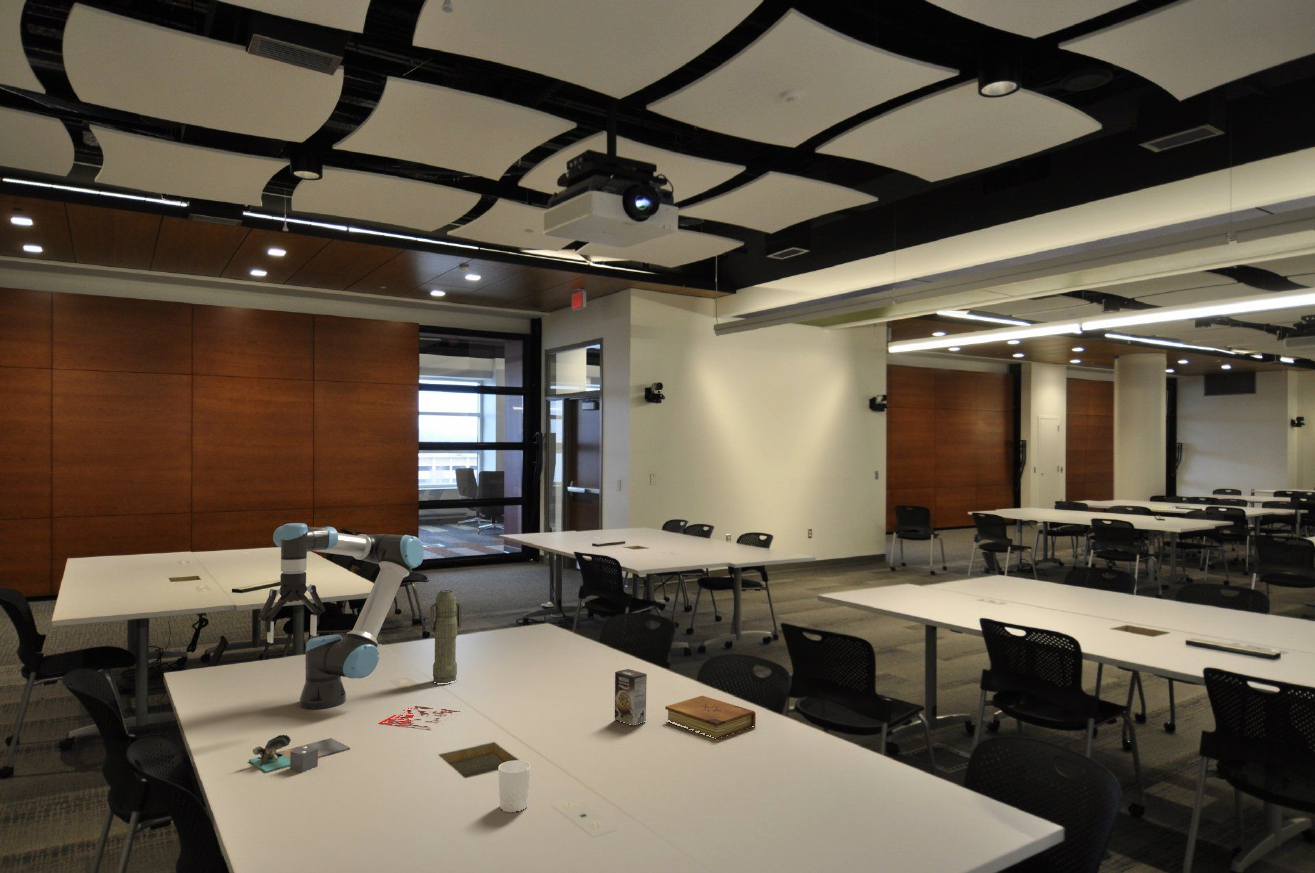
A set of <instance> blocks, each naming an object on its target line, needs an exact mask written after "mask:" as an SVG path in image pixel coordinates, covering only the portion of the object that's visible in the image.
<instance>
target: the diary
mask: <svg viewBox="0 0 1315 873" xmlns="http://www.w3.org/2000/svg"><path fill="white" fill-rule="evenodd" d="M664 708H665V710H667V720H670V721H671V722H675V723H677V724H680V725H682V726H686V727H688V729H694V730H693V731H700V732H699V733H705V735H709V736H710V735H711V737H714V738H716V739H719V738H721V737H724V738H726V737H725V736H727V735H730V736H732V735H731V734H732V733H735V734H737V733H736V732H738V731H741V732H743V731H742V730H744V729H747V728H750V727H752V726H755V727H756V720H757V718H756V717H757V716H756V712H755V711H754V710H752V709H750V708H746V707H742V706H739V705H735V704H732V703H729V702H725V701H722V700H718V699H715V698H712V697H709V696H706V695H699V696H696V697H692V698H690V699H685V700H682V701H678V702H676V703H672V704H669V705H665V707H664ZM752 728H753V727H752ZM750 729H751V728H750ZM747 730H748V729H747ZM744 731H745V730H744ZM738 733H739V732H738ZM727 737H728V736H727ZM721 739H722V738H721ZM719 740H720V739H719Z"/></svg>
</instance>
